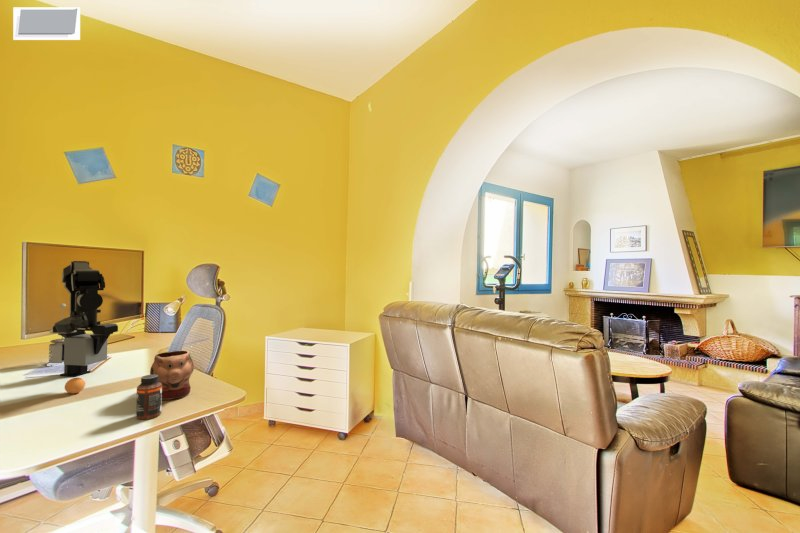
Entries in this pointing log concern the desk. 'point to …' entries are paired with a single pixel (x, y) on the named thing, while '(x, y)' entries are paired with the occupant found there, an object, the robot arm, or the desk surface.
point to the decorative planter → (173, 373)
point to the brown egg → (74, 385)
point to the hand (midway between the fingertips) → (85, 353)
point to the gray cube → (82, 350)
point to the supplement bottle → (149, 397)
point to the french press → (56, 346)
